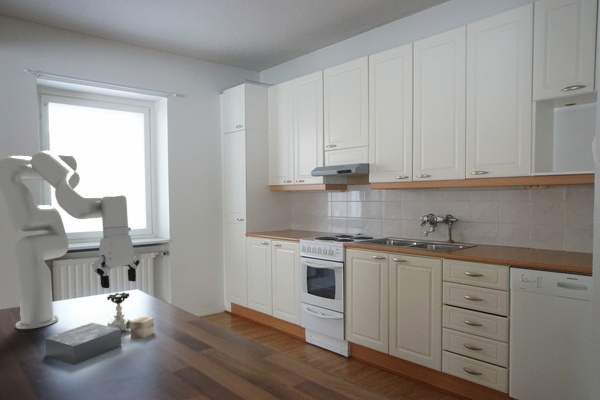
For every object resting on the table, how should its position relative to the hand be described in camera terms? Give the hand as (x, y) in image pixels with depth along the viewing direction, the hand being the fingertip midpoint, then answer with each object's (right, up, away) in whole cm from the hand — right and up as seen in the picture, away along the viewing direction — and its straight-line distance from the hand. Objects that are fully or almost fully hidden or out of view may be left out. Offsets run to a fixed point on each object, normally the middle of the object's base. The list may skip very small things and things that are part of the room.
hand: (119, 284), depth 128 cm
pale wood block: (+9, -15, -4) cm, 18 cm away
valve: (0, -16, +1) cm, 16 cm away
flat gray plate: (-3, -16, -15) cm, 22 cm away
